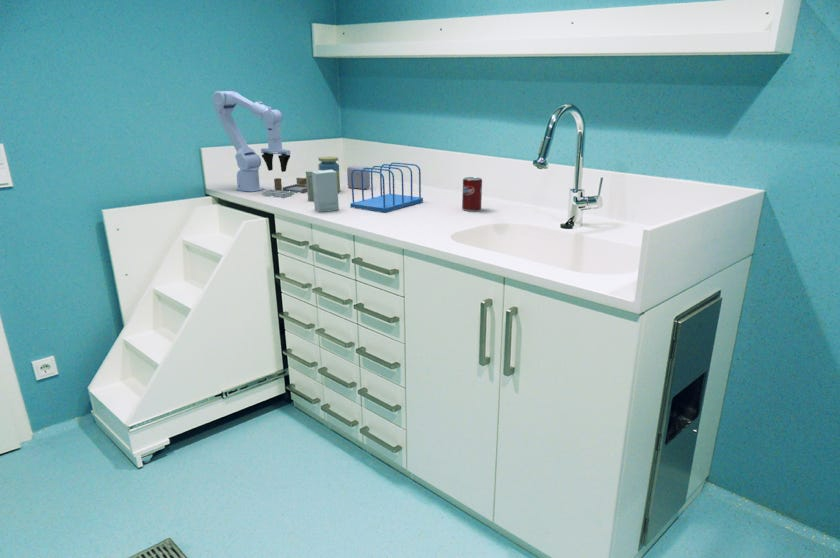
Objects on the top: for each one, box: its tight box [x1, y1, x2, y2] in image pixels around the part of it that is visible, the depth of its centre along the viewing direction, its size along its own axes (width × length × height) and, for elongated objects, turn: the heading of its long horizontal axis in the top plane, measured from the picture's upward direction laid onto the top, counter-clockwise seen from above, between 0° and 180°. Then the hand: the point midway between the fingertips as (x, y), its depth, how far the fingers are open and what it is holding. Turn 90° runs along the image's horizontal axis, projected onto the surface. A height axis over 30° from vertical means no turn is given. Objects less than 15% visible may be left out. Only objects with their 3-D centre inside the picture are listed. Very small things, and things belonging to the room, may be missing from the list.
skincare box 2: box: [312, 170, 340, 213], centre depth 221 cm, size 8×6×15 cm
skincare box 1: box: [305, 169, 323, 202], centre depth 240 cm, size 6×4×12 cm
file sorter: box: [349, 161, 424, 213], centre depth 231 cm, size 25×17×15 cm
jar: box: [317, 156, 341, 193], centre depth 257 cm, size 9×9×15 cm
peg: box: [273, 177, 283, 191], centre depth 257 cm, size 3×3×6 cm
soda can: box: [461, 176, 483, 212], centre depth 223 cm, size 7×7×12 cm
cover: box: [295, 177, 307, 187], centre depth 269 cm, size 9×9×3 cm
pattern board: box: [282, 183, 308, 194], centre depth 266 cm, size 11×19×2 cm, turn 153°
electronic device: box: [346, 164, 371, 190], centre depth 267 cm, size 10×5×10 cm, turn 58°
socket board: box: [261, 189, 295, 199], centre depth 251 cm, size 12×7×2 cm, turn 63°
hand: (277, 170), depth 255 cm, fingers open, 7 cm apart
